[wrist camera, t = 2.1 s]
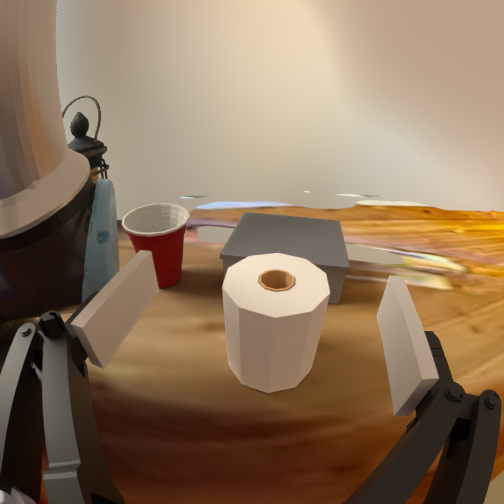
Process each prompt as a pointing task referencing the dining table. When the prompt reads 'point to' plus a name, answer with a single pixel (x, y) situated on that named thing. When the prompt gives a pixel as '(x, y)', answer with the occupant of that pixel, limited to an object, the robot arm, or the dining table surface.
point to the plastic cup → (159, 237)
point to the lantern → (88, 142)
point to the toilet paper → (273, 319)
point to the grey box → (291, 244)
